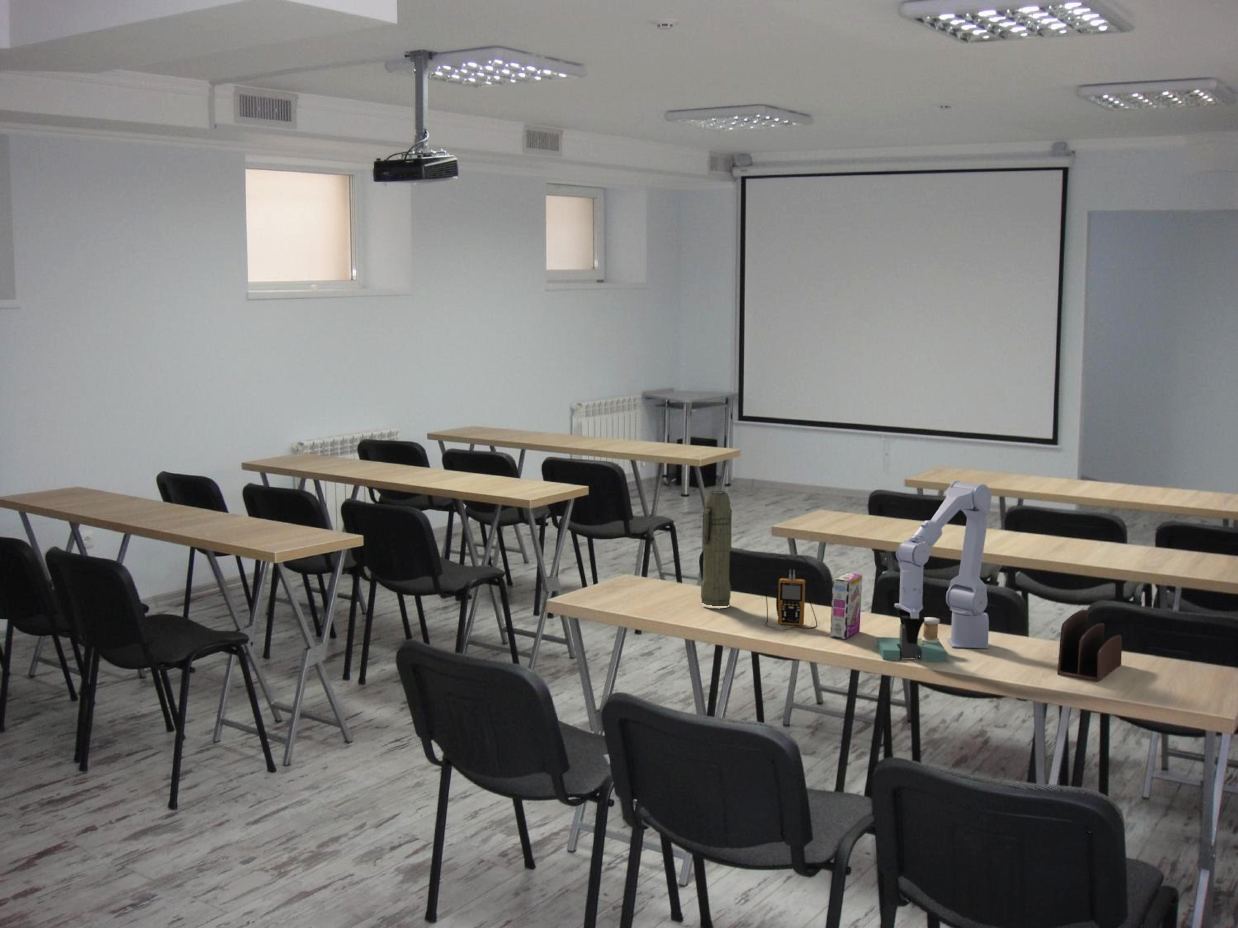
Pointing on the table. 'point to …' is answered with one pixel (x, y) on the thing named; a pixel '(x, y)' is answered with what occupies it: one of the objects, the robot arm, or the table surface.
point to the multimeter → (790, 600)
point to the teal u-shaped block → (926, 647)
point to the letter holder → (1087, 650)
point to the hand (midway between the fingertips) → (909, 639)
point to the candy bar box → (846, 605)
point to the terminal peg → (906, 645)
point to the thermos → (716, 549)
